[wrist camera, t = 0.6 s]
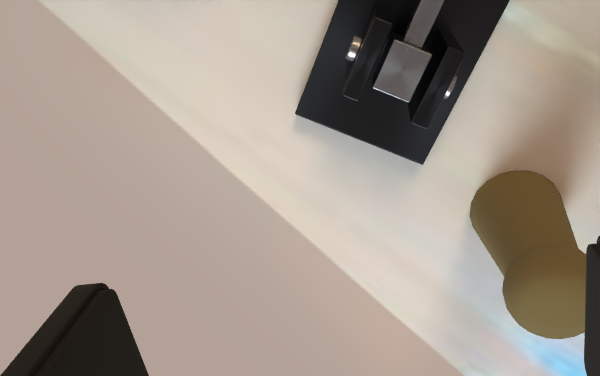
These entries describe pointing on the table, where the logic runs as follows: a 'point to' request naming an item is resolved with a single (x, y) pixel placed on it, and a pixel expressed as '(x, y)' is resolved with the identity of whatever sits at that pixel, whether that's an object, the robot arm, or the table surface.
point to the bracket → (363, 62)
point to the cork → (533, 252)
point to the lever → (407, 54)
